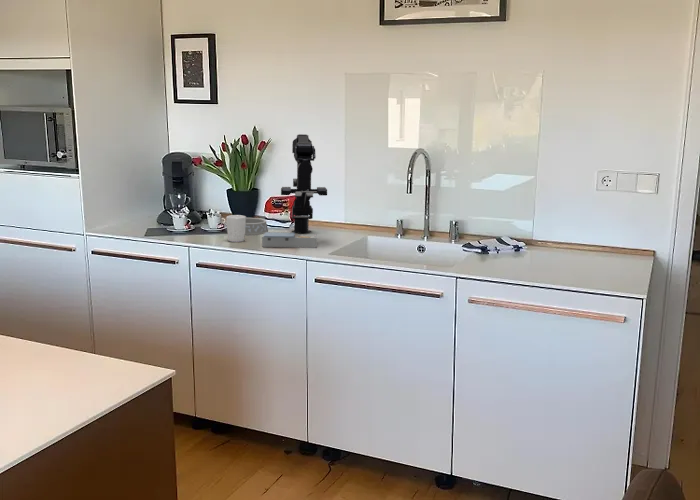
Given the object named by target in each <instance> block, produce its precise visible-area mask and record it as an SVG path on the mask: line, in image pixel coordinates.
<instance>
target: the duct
mask: <svg viewBox="0 0 700 500" xmlns="http://www.w3.org/2000/svg"><path fill="white" fill-rule="evenodd" d="M261 239H262V240H261V247H262V248H305V249H306V248H315V249H316V248H317V234H316V233H315V234H314V237H313V236H300V237H299V236H295V237H294V238H290V237H264V234H262V236H261Z"/></svg>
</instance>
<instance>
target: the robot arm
mask: <svg viewBox="0 0 700 500" xmlns="http://www.w3.org/2000/svg"><path fill="white" fill-rule="evenodd" d="M309 137H310V136H309V135H308V134H300V133H299V134H297V135H296V138H294V139H293V140H292V146H291V148H292V149H291V150H292V154H293V158H294V160H295V162H296V164H297V165H296V167H297V168H296V172H297V173H296V178H293V179H292V181H293V182H292V186H293V187H294V188H292V187H291V186H282V187H281V188H280V196H290V195H291V194H294V198H295V200H294V201H293V205H292V207H291V208H292V209H291V211H292V212H291V219H292V220H294V223H293V224H294V225H293V227H294V228H293V230H291V233H295V234H307V233H311V232H312V230H309V221H310V220H312V219H313V217H314V216H313V215H314V208H313V206H312V205H311V199H313V198H314V194H318V195H319V196H328V188H326V187H325V186H322V187H321V186H319V187H318V186H317V187H316V188H312V173H313V165H312V162H314V161H315V159H316V157H317V155H316V148H315V146H314V145H313V143H312V140H311V139H310V138H309Z"/></svg>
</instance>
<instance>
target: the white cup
mask: <svg viewBox="0 0 700 500" xmlns="http://www.w3.org/2000/svg"><path fill="white" fill-rule="evenodd" d="M225 218H226V229H227V230H226V232H227V240H228V242H233V243H234V242H235V243H238V242H239V243H240V242H244V241H245V239H246V238H245V236H246V235H245V224H246V218H247V216H246V215H241V214H233V215H227V216H226V217H225Z"/></svg>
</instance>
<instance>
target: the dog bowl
mask: <svg viewBox="0 0 700 500" xmlns="http://www.w3.org/2000/svg"><path fill="white" fill-rule="evenodd" d="M265 232H269V229H268V223H267V220H266V219H263V218H260V217H259V218H258V217H246V224H245V236H260V235H263V234H265Z"/></svg>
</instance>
